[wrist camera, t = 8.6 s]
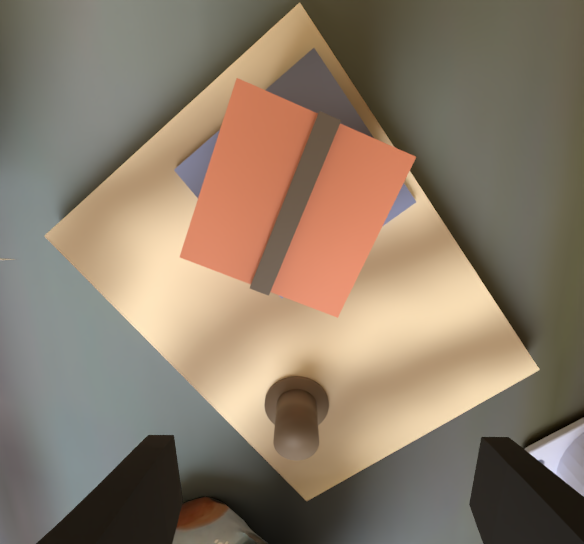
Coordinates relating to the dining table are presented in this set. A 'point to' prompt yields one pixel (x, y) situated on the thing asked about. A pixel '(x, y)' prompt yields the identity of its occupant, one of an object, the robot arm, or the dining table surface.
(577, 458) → the robot arm
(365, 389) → the board
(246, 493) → the dining table surface
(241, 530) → the lucky cat figurine
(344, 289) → the strapped orange box
